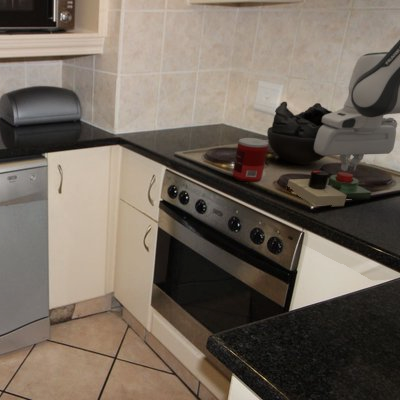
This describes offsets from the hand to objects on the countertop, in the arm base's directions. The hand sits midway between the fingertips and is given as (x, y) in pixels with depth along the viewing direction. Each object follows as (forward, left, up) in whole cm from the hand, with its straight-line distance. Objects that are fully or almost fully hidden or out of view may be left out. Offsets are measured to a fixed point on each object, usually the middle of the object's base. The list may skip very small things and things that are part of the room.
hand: (347, 170), depth 126 cm
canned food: (+14, +20, -7) cm, 25 cm away
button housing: (0, 0, -7) cm, 7 cm away
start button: (0, 0, -3) cm, 3 cm away
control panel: (-2, +10, -7) cm, 12 cm away
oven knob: (-2, +10, -4) cm, 10 cm away
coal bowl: (+26, -4, -7) cm, 27 cm away
